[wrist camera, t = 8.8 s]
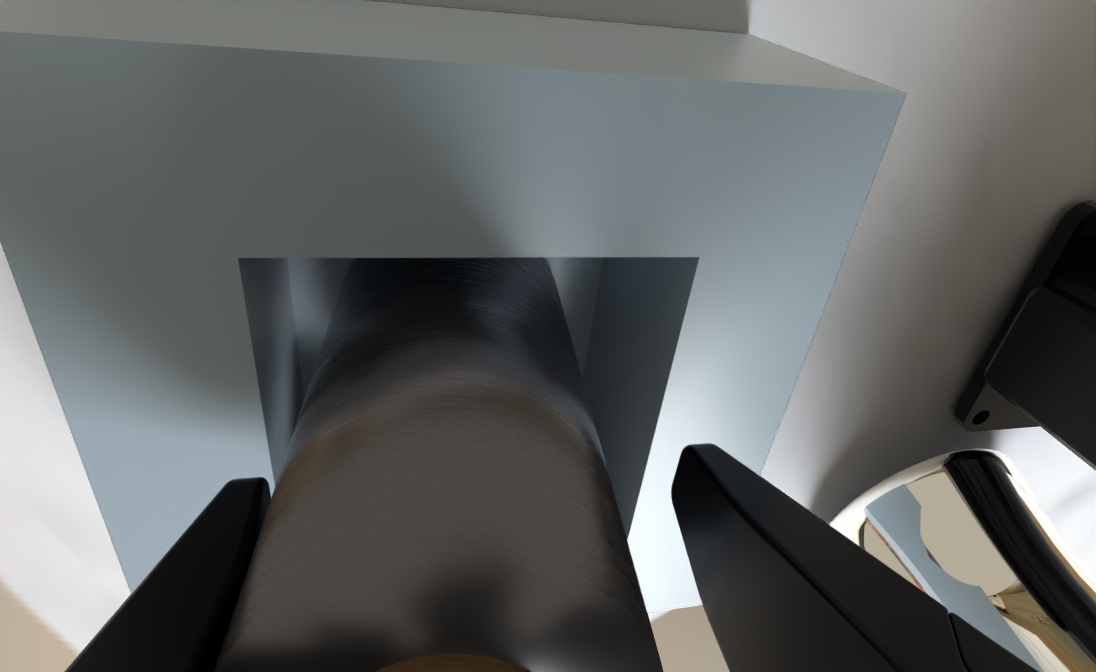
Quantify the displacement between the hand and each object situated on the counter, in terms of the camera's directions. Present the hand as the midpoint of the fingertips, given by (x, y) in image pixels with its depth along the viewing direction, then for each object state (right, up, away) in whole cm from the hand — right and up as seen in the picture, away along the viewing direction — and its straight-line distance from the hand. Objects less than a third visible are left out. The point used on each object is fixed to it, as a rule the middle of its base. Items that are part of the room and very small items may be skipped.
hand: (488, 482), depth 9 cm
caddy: (-1, +3, +4) cm, 5 cm away
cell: (-1, +2, +3) cm, 4 cm away
